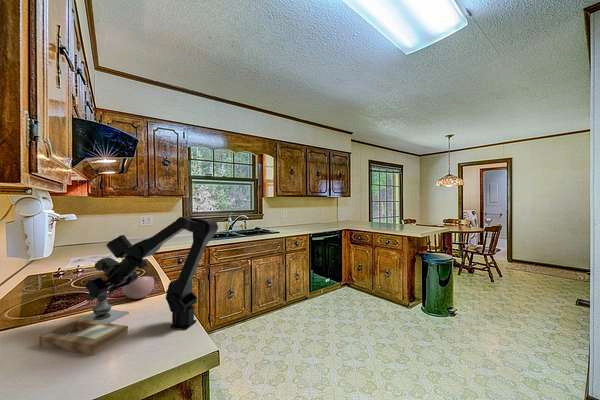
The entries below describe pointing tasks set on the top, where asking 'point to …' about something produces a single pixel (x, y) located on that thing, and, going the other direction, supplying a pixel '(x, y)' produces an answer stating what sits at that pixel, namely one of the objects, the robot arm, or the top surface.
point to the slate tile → (114, 316)
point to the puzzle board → (84, 336)
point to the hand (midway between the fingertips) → (98, 295)
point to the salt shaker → (102, 308)
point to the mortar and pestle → (139, 287)
